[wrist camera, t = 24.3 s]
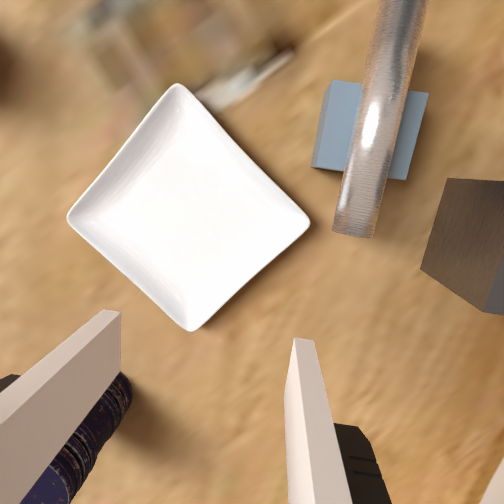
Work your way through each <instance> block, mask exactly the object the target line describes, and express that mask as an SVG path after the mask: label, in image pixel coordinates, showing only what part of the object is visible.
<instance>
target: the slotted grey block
mask: <svg viewBox="0 0 504 504" xmlns="http://www.w3.org/2000/svg"><path fill="white" fill-rule="evenodd" d="M420 269H421V270H422V271H424V272H425V273H427V274H428V275H430V276H431V277H433V278H434V279H436V280H437V281H438V282H440V283H441V284H443V285H444V286H446V287H447V288H449V289H450V290H452V291H453V292H454V293H456V294H457V295H459V296H460V297H462V298H463V299H465V300H466V301H468V302H469V303H470V304H472V305H473V306H475V307H476V308H478V309H479V310H481V311H482V312H487V313H493V314H499V315H504V181H491V180H473V179H455V178H447V182H446V185H445V188H444V192H443V195H442V198H441V201H440V205H439V208H438V211H437V215H436V218H435V221H434V225H433V228H432V231H431V235H430V238H429V241H428V244H427V248H426V251H425V254H424V258H423V261H422V264H421V268H420Z"/></svg>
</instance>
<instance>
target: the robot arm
mask: <svg viewBox="0 0 504 504" xmlns="http://www.w3.org/2000/svg"><path fill="white" fill-rule="evenodd" d="M120 359H121V312H118V311H111V310H104V309H103V310H101V311H100V312H99V313H98V314H96V315H95V316H94V317H93V318H92V319H90V320H89V321H88V322H87V323H85V324H84V325H83V326H82V327H81V328H79V329H78V330H77V331H76V332H74V333H73V334H72V335H71V336H69V337H68V338H67V339H66V340H65V341H63V342H62V343H61V344H60V345H58V346H57V347H56V348H55V349H54V350H52V351H51V352H50V353H49V354H47V355H46V356H45V357H44V358H43V359H41V360H40V361H39V362H38V363H36V364H35V365H34V366H33V367H32V368H30V369H29V370H28V371H27V372H25V373H24V374H23V375H22V376H20V375H13V374H11V375H9V376H6V377H4V378H2V379H0V504H19V503H20V502H21V501H22V500H23V498H24V497H25V496H26V494H27V493H28V492H29V490H30V489H31V488H32V486H33V485H34V484H35V482H36V481H37V480H38V479H39V477H40V476H41V475H42V473H43V472H44V471H45V469H46V468H47V467H48V465H49V464H50V463H51V461H52V460H53V459H54V457H55V456H56V455H57V454H58V452H59V451H60V450H61V448H62V447H63V446H64V444H65V443H66V442H67V440H68V439H69V438H70V436H71V435H72V434H73V433H74V431H75V430H76V429H77V427H78V426H79V425H80V423H81V422H82V421H83V419H84V418H85V417H86V415H87V414H88V413H89V411H90V410H91V409H92V408H93V406H94V405H95V404H96V402H97V401H98V400H99V398H100V397H101V396H102V394H103V393H104V392H105V390H106V389H107V388H108V387H109V385H110V384H111V383H112V381H113V380H114V379H115V377H116V376H117V375H118V373H119V372H120ZM284 413H285V434H286V456H287V477H288V499H289V504H392V503H391V500H390V497H389V494H388V492H387V489H386V486H385V483H384V480H383V479H382V475H381V472H380V469H379V466H378V464H377V463H376V458H375V455H374V452H373V449H372V447H371V444H370V442H369V441H368V439H367V438H366V437H365V435H364V434H363V433H362V431H361V430H360V429H359V428H358V427H356V426H350V425H343V424H337V423H333V420H332V415H331V411H330V407H329V403H328V399H327V394H326V390H325V386H324V382H323V378H322V373H321V369H320V365H319V361H318V357H317V352H316V348H315V344H314V340H308V339H301V338H294V342H293V347H292V353H291V359H290V364H289V370H288V375H287V381H286V386H285V392H284Z"/></svg>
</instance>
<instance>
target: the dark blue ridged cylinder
mask: <svg viewBox="0 0 504 504" xmlns="http://www.w3.org/2000/svg"><path fill="white" fill-rule="evenodd" d="M132 398H133V392H132V387H131V385H130V383H129V381H128V379H127V378H126V377H125V375H124V374H123V373H122V372H119V373H118V375H117V376H116V377H115V379H114V380H113V381H112V383H111V384H110V385H109V387H108V388H107V389H106V390H105V392H104V393H103V394H102V396H101V397H100V398H99V400H98V401H97V402H96V404H95V405H94V406H93V408H92V409H91V410H90V411H89V413H88V414H87V415H86V417H85V418H84V419H83V421H82V422H81V423H80V425H79V426H78V427H77V429H76V430H75V431H74V433H73V434H72V435H71V436H70V438H69V439H68V440H67V442H66V443H65V444H64V446H63V447H62V448H61V450H60V451H59V452H58V454H57V455H56V456H55V457H54V459H53V460H52V461H51V463H50V464H49V465H48V467H47V468H46V469H45V471H44V472H43V473H42V475H41V476H40V477H39V479H38V480H37V481H36V482H35V484H34V485H33V486H32V488H31V489H30V490H29V492H28V493H27V494H26V496H25V497H24V498H23V500H22V501H21V502H20V503H19V504H70V503H71V501H72V499H73V498H74V496H75V495H76V493H77V491H78V490H79V489H80V488H81V486H82V485H83V483H84V482H85V480H86V478H87V477H88V474H89V473H90V472H91V470H92V469H93V467H94V464H95V462H96V459H97V455H98V453H99V452H100V450H101V449H102V447H103V445H104V444H105V442H106V441H107V440H108V439H109V438H110V437H111V436H112V434H113V433H114V431H115V430H116V428H117V427H118V426H119V424H120V422H121V421H122V419H123V417H124V414H125V413H126V411H127V409H128V408H129V406H130V404H131V402H132Z"/></svg>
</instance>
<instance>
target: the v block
mask: <svg viewBox="0 0 504 504" xmlns="http://www.w3.org/2000/svg"><path fill="white" fill-rule="evenodd" d="M361 86H362V84H361V83H354V82H347V81H340V80H332V82H331V83H330V85H329V86H328V88H327V89H326V91H325V93H324V99H323V104H322V109H321V115H320V120H319V125H318V131H317V136H316V142H315V147H314V152H313V158H312V163H311V167H314V168H320V169H327V170H334V171H341V172H344V168H345V163H346V158H347V153H348V148H349V144H350V139H351V134H352V129H353V124H354V119H355V115H356V110H357V105H358V100H359V95H360V90H361ZM428 95H429V93H426V92H418V91H411V90H408V92H407V97H406V101H405V105H404V109H403V113H402V118H401V122H400V126H399V130H398V134H397V139H396V143H395V147H394V151H393V155H392V160H391V164H390V168H389V172H388V176H387V178H388V179H399V180H406V177H407V173H408V170H409V166H410V162H411V159H412V155H413V151H414V147H415V144H416V140H417V136H418V132H419V129H420V125H421V121H422V117H423V114H424V110H425V106H426V103H427V99H428Z"/></svg>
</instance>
